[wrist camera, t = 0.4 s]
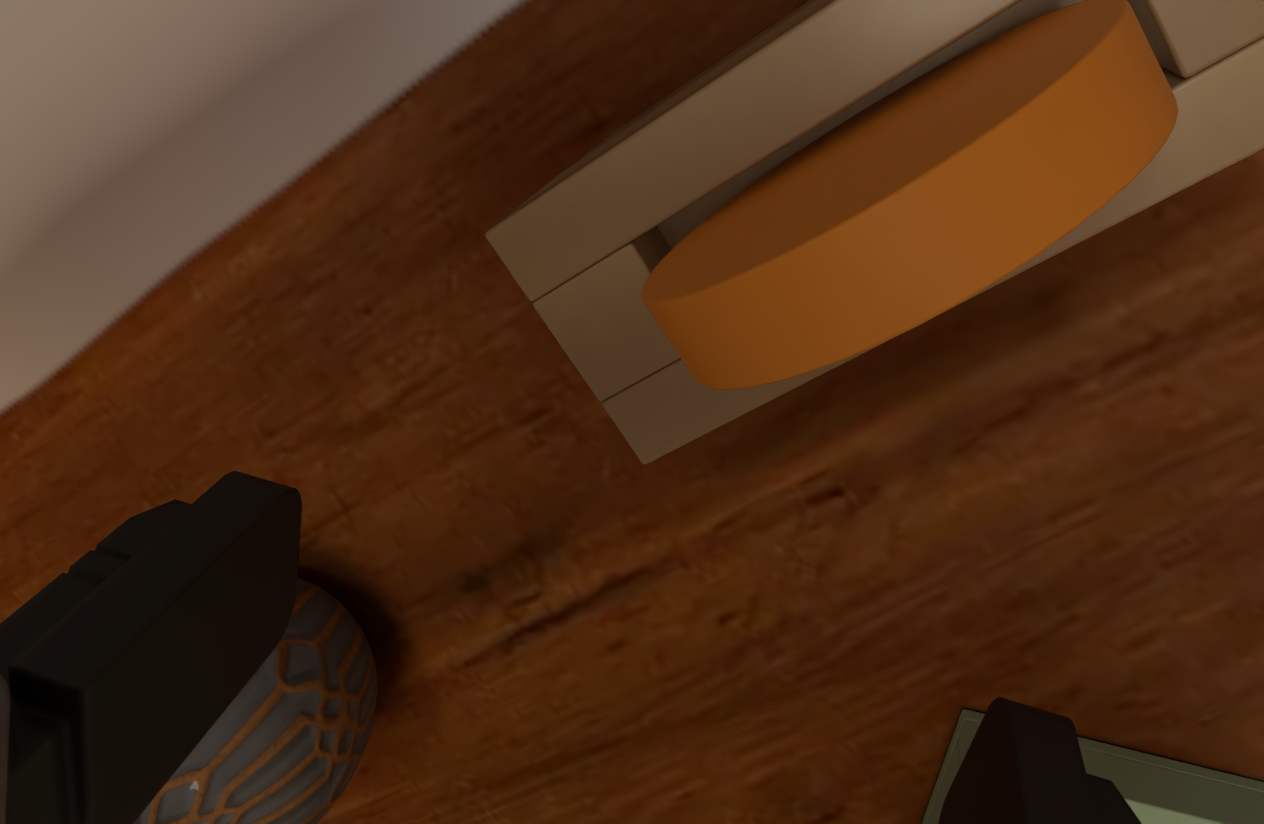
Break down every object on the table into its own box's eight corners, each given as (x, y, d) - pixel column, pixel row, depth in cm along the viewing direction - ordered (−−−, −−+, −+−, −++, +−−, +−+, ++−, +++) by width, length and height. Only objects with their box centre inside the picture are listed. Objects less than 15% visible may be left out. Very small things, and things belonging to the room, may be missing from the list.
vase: (356, 513, 28) (156, 737, 20) (446, 717, 31) (298, 987, 23) (151, 550, 30) (-101, 767, 22) (250, 739, 33) (54, 994, 25)
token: (683, 218, 16) (585, 367, 10) (1072, -20, 13) (1200, 17, 8) (726, 285, 16) (651, 463, 11) (1114, 62, 14) (1264, 151, 8)
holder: (614, 130, 23) (482, 234, 15) (1091, -191, 18) (1239, -270, 11) (718, 293, 24) (643, 467, 16) (1191, 23, 19) (1390, 85, 12)
